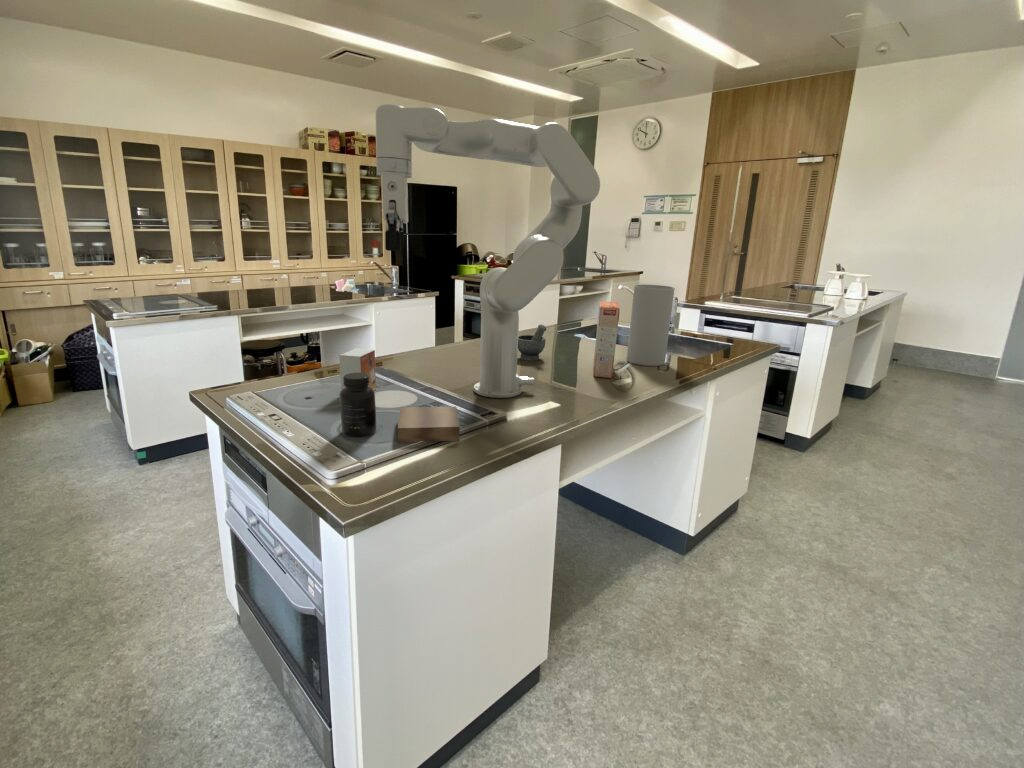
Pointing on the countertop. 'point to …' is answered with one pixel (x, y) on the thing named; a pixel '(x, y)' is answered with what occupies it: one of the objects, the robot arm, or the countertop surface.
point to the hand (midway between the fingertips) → (395, 249)
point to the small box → (358, 364)
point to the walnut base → (428, 424)
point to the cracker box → (606, 339)
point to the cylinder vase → (650, 324)
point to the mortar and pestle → (532, 344)
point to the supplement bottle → (357, 406)
